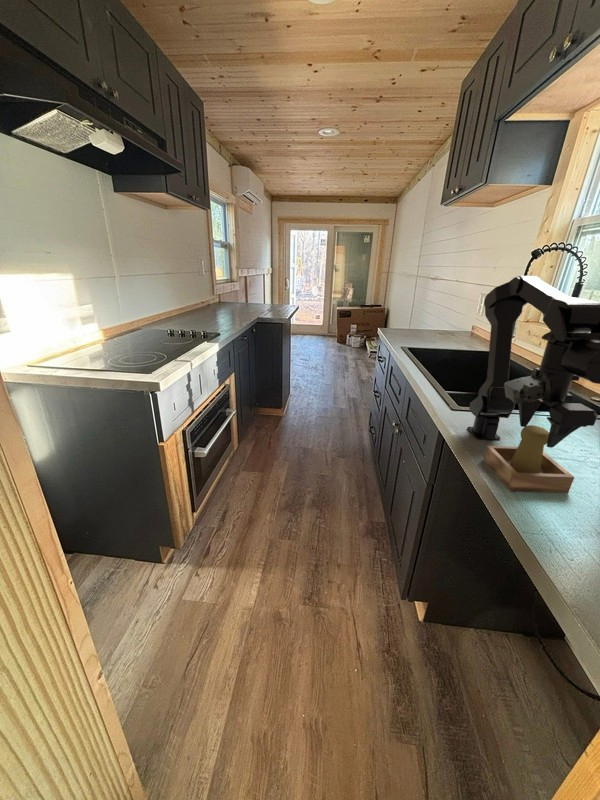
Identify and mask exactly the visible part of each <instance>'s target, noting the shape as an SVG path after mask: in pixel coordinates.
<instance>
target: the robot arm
mask: <svg viewBox="0 0 600 800" xmlns="http://www.w3.org/2000/svg"><path fill="white" fill-rule="evenodd" d="M527 304H530V306H532V307H534V308H535V309H536V310H538V311H539V312H541V313H542V314H543V317H542V322H543V323H544V324H545V326H546V327H547V328H548V329H549V332H547V333H545V334H543V335H542V336H541V339H542V340H545V341H547V343H546V345H545V348H544V351H543V355H542V358H541V362H540V366H539V367H533V369H532V371H531V373H530V375H529V376H522V377H518V378H513V379H512V380H509V379H510V378H509V377H510V364H511V353H512V342H513V341H512V340H513V331H514V323H516V322H517V320H518V319H519V318H520V316H521V315H522V314H523V308H524V307H525V306H526V305H527ZM483 305H484V315H485V317H486V318H485V319H487V321H488V322H489V324H490V337H489V348H488V349H489V350H488V361H487V362H488V363H487V372H486V380H485V381H484V383H483V384H481V387H479V389H478V394H477V395H478V396H477V397H476V398H474V399H473V400H472V401H470V402H469V408H468V409H469V412H471V414H472V415H473V416H474V421H473V424H472V426H467V430H468V431H469V432H470V434H471V435H472V436H473V437H474V438H476V439H477V440H501V436H499V435H498V434H497V433H498V429H499V423H500V420H501V418H503V419H509V417H510V415H511V414H512V412H513V410H514V409H515V407H516V405H518V406H517V407H518V416H519V424H520V427H522V428H524V427H525V426H528V424H529V423H530V421H531V420H532V418H533V416H534V415H535V414H536V412H537V410H538V408H539V407H540V405H541V403H543V404H545V405H546V406H548V407H550V408H549V411H548V413H549V416H546V419H547V421H548V423H550V428H549V431H548V432H549V436H548V440H547V444H546V447H547V448H552V449H553V448H554V447H556V446H557V445H558V444H560V442H561V441H563V440H564V439H566V438H567V437H568V436H569V435H570V434H572V433H573V432H575V431H576V430H578V429H580V428H581V427H583V428H584V427H585V428H586V427H588V426H589V427H590V426H592V427H593V426H595V423H596V422H597V419H598V416H599V415H598V413H597V411H595V410H594V409H592V408H590V407H588V406H586V405H584V404H582V403H578V402H577V403H576V402H575V403H572V402H565V401H572V400H573V397H574V395H572V394H571V393H569V391H570V389H571V387H572V383H573V381H574V382H575V381H579V380H580V378H581V379H583V380H586V381H589V382H591V383H593V384H596V385H600V302H598V301H595V300H593V299H592V300H591V299H587V298H583V297H573V296H571V295H566V293H563V292H562V291H560V290H559V289H557V288H556V287H553V286H551V285H550V284H548V283H546V282H544V281H543V280H542V279H541V278H540V276H539V277H538V276H536V275H518V276H515V277H513V278H512V279H511V280H509V281H507V282H505V283H503V284H500V285H497V286H496V287H494V288H493V289H492V290H491V291H490V292H489V293H487V294H486V295H485V297H484V302H483Z"/></svg>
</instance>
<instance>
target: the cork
mask: <svg viewBox="0 0 600 800" xmlns="http://www.w3.org/2000/svg"><path fill="white" fill-rule="evenodd" d="M549 432H550V431H548V430H547V429H546V428H544V427H541V426H539V425H534V424H533V425H527V426H525V427H522V429H521V430H520V438H521V440H520V442H519V443H518V446H517V447H518V448H517V450H516V452H515V454H514V456H513V458H512V460H511V462H510V464H509V465H510V466H511V467H512V468H513V469H514V470H515V471H516V472H517V473H540V468H541V462H542V455H543V452H544V447H545V445H546V446H547V440H548V436H549Z"/></svg>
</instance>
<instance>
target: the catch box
mask: <svg viewBox="0 0 600 800" xmlns="http://www.w3.org/2000/svg"><path fill="white" fill-rule="evenodd" d="M517 448H518V446H515V445H514V446H511V445H510V446H508V445H507V446H506V445H486V449H485V452H484V457H483V459H482V460H483V462H484V463H485V464H486V465H487V466H488V467H489V468H490V469H491V471H492V472H493V473H494V474H495V475H496V476H497V477H498V479H499V478H500V479H499V480H500V481H501V482H502V484H503V485H504V486H505V487H506V488H507V489H508V490H509V491H510V492H522V493H523V492H525V493H527V492H528V493H529V492H530V493H555V494H556V493H558V494H559V493H560V494H561V493H562V494H565V493H566V494H569V492H570V490H571V488H572V484H573V482H574V479H575V476H574V475H572V473H570V472H569V471H568V470H566V469H565V468H564V467H563V466H562V465H560V463H558V462H557V461H555V460H554V459H553V458H551V456H550V455H548V454H547V453H546V452H544V451H543V455H542V462H541V468H540V473H517V472H516V471H515V470H514V469H513V468H512V467H511V466H510V465H509V464H510V462H511V460H512V458H513V456H514V454H515V452H516V450H517Z"/></svg>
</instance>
